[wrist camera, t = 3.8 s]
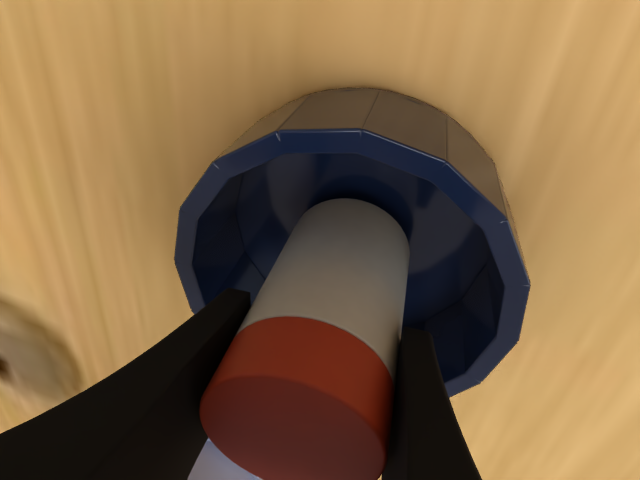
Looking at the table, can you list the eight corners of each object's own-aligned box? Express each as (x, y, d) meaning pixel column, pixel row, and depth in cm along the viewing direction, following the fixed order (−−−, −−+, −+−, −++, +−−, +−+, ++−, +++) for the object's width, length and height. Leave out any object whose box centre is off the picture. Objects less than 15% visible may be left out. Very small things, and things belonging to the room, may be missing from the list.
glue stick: (300, 291, 16) (221, 477, 10) (284, 196, 14) (174, 363, 8) (409, 300, 15) (388, 511, 9) (411, 198, 13) (385, 391, 7)
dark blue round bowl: (253, 319, 19) (217, 389, 16) (198, 93, 14) (128, 133, 11) (489, 343, 17) (499, 431, 14) (532, 78, 11) (566, 123, 8)
